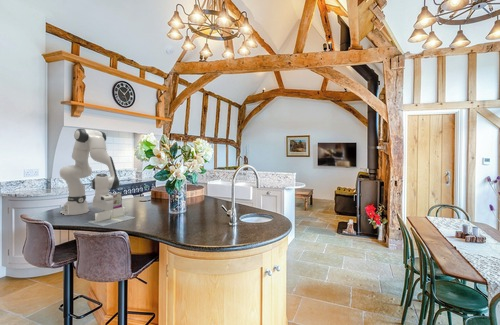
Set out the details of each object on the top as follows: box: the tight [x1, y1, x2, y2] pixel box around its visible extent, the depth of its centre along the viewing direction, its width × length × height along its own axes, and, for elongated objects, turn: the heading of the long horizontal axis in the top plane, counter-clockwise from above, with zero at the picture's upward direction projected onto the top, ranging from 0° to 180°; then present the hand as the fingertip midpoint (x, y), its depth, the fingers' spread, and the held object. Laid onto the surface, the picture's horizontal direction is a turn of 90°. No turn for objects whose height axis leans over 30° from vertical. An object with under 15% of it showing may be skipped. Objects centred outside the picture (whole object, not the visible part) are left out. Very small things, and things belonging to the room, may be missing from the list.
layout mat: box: [87, 215, 136, 227], centre depth 188 cm, size 19×25×1 cm
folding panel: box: [94, 210, 110, 222], centre depth 184 cm, size 2×12×6 cm, turn 160°
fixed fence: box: [110, 205, 126, 219], centre depth 195 cm, size 2×12×7 cm, turn 150°
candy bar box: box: [109, 192, 123, 209], centre depth 207 cm, size 11×5×16 cm, turn 146°
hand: (102, 215), depth 186 cm, fingers closed
